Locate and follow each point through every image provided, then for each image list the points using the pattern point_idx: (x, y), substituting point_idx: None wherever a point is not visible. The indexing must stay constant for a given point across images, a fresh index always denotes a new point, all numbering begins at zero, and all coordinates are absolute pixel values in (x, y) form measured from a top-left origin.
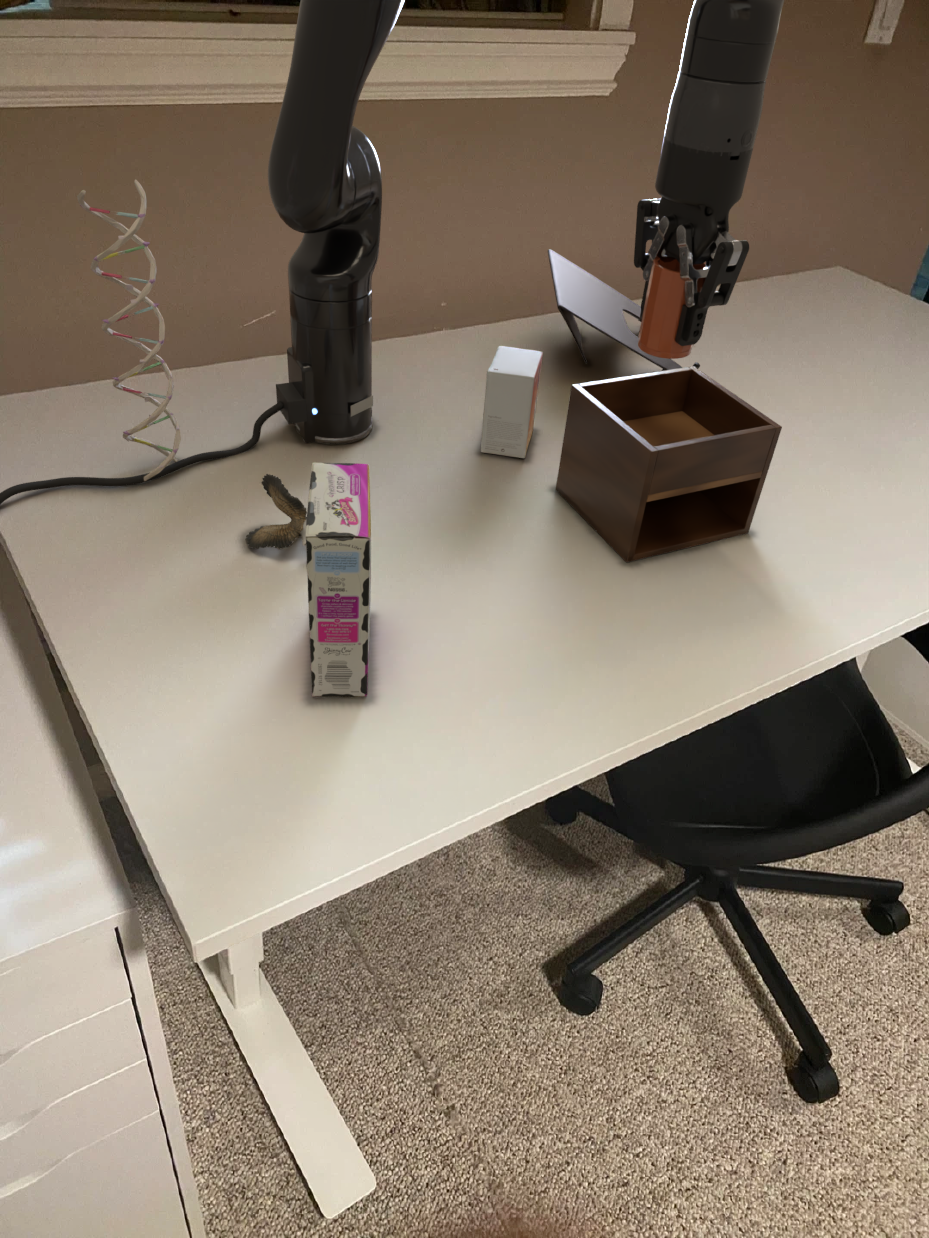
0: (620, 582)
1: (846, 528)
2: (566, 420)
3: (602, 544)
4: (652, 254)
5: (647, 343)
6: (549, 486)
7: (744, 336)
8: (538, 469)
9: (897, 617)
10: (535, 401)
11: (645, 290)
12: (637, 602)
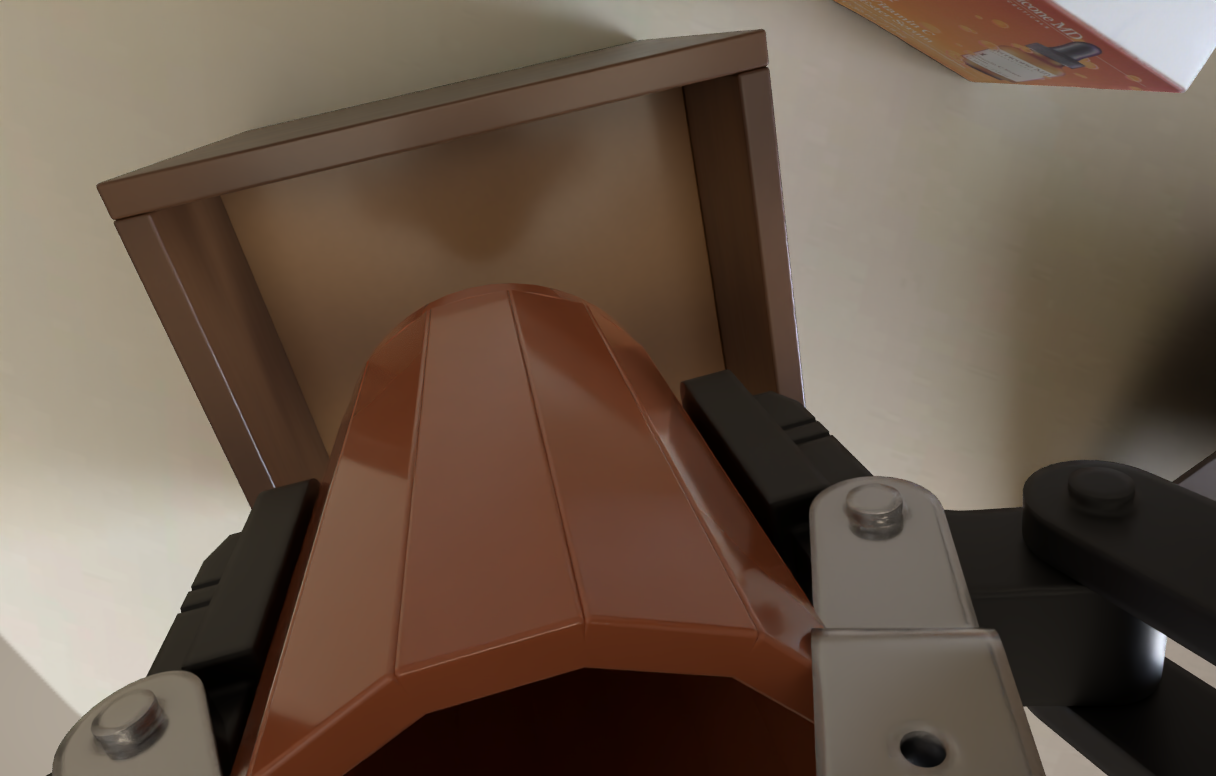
0: (143, 76)
1: None
2: (707, 34)
3: (343, 90)
4: (892, 671)
5: (430, 317)
6: (665, 28)
7: None
8: (762, 24)
9: (51, 682)
10: (998, 49)
11: (791, 453)
12: (42, 93)
